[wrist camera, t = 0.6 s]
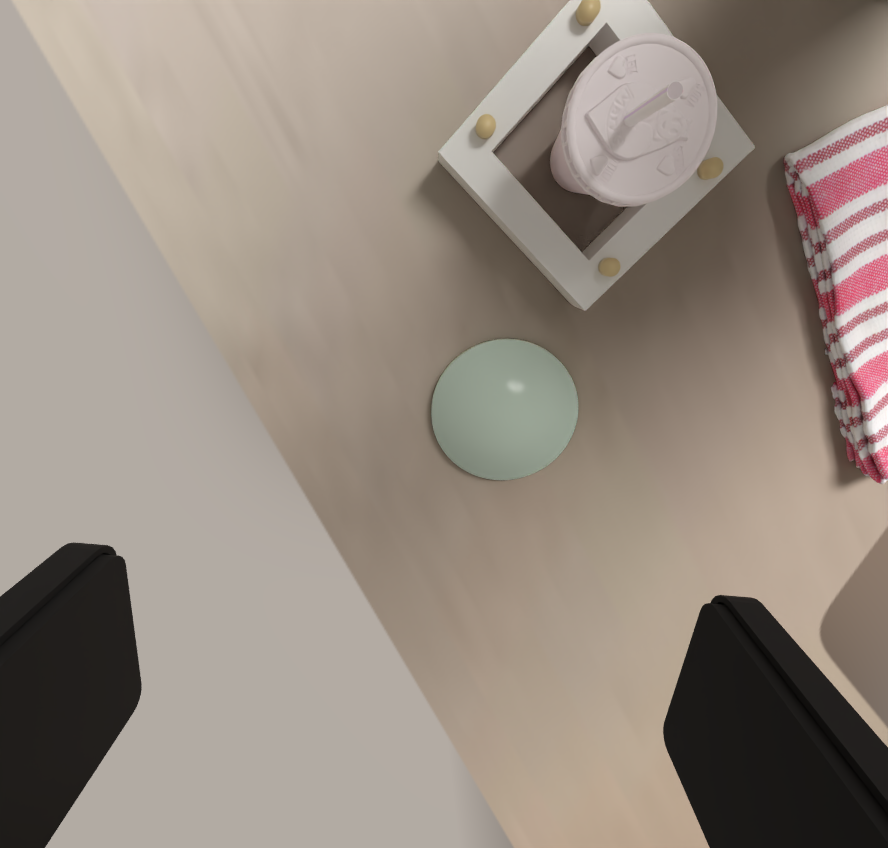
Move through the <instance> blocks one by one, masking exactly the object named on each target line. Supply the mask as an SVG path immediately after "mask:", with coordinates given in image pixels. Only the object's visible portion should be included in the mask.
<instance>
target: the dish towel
mask: <svg viewBox="0 0 888 848" xmlns="http://www.w3.org/2000/svg"><path fill="white" fill-rule="evenodd" d="M783 163H784V166H785V176H786V179H787V187H788V190H789V192H790V195H791V198H792V201H793V204H794V207H795V210H796V213H797V218H798V227H799V231H800V233H801V237H802V244H803V249H804V253H805V257H806V259H807V264H808V271H809V273H810V275H811V280H812V281H813V285H814V288H815V292H816V295H817V299H818V303H819V316H820V319H821V321H822V326H823V334H824V341H825V344H826V346H827V349H828V352H827V350H826V348H825V351H826V352H825V355H826V354H828V355H829V359H830V363H831V366H832V369H833V372H834V375H835V380H836V382H834V383H833V386H832V387H831V390H832V393H833V398H834V399H835V401H836V403H835V406H834V408H835V410H834V412H835V414H836V416H837V418H838V420H839V421H840V431H841V434H842V435H843V437H844V438H845V439H846V442H847V456H848V459H849V461H853V460H855V461H856V467H857V468H861V471H862V473H863V474H864V475H865V476H868V477H871V478H872V479H873V480H875V481H876V482H877V483H880V484H884V483H885V482H886V481H887V480H888V105H886V106H883V107H881V108H878V109H876V110H873V111H871V112H868V113H865V114H863V115H861V116H859V117H857V118H855V119H852V120H850V121H848V122H847V123H845V124H843V125H841V126H839V127H838V128H836V129H834V130H832V131H831V132H829V133H828V134H826V135H825V136H823V137H821V138H819V139H818V140H816V141H815V142H813V143H811V144H810V145H808V146H806V147H804V148H802V149H800V150H798V151H796V152H794V153H788V154H787V155H786V156H785V158H784V161H783Z"/></svg>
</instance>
